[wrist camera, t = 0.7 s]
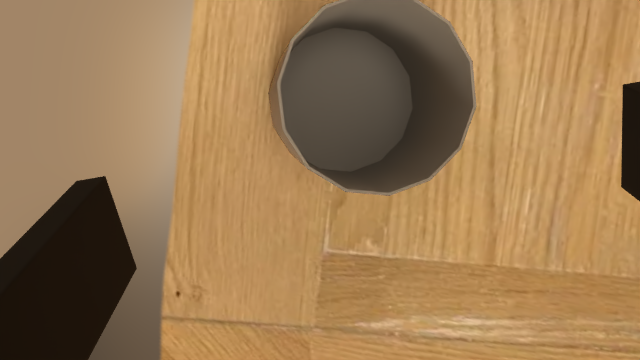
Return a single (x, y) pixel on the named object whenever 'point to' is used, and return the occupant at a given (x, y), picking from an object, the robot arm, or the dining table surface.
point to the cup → (374, 95)
